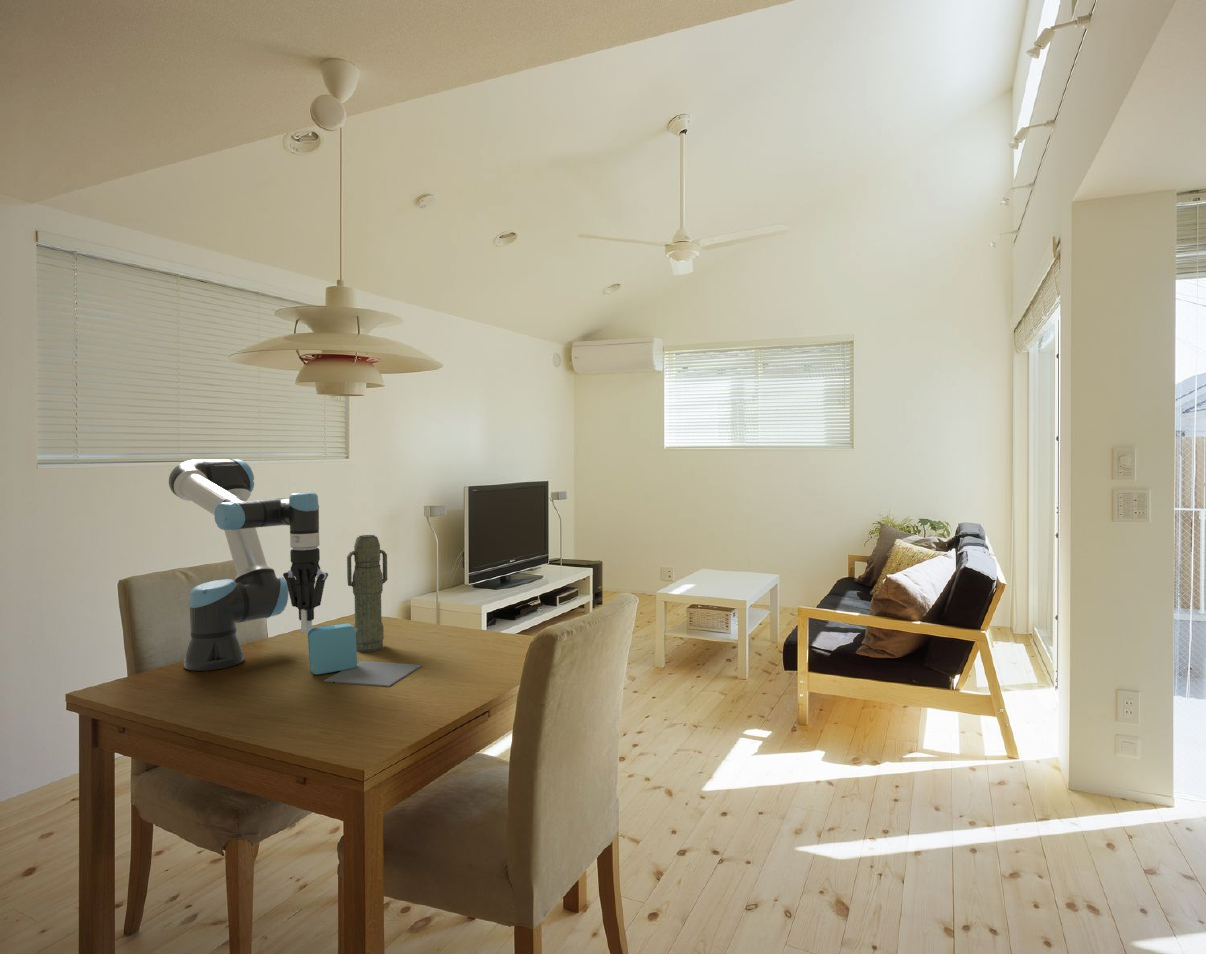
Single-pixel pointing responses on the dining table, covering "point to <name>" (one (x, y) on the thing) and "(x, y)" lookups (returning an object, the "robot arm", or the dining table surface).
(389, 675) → the mat
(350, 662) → the blue flat block
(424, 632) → the dining table surface
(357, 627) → the thermos
